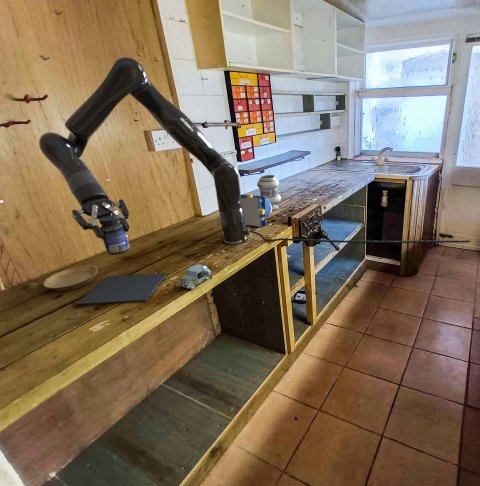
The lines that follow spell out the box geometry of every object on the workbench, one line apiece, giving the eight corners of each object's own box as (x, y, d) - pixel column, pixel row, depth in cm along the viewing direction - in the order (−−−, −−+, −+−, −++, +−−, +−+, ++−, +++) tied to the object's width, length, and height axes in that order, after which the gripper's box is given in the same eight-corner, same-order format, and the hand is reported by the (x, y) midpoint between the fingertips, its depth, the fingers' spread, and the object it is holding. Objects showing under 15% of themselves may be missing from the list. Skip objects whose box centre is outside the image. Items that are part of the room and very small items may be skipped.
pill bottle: (134, 248, 99) (124, 215, 94) (117, 256, 94) (106, 222, 89) (120, 246, 101) (110, 213, 96) (102, 254, 96) (90, 220, 91)
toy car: (179, 289, 100) (175, 275, 98) (202, 274, 108) (199, 262, 106) (194, 293, 97) (190, 279, 95) (216, 278, 106) (214, 265, 104)
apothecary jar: (255, 210, 172) (251, 178, 164) (267, 204, 182) (264, 173, 174) (274, 212, 167) (271, 179, 160) (285, 206, 177) (282, 174, 170)
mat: (166, 274, 109) (166, 273, 108) (145, 301, 94) (145, 299, 94) (108, 278, 108) (107, 276, 107) (77, 305, 93) (76, 303, 93)
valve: (261, 227, 146) (260, 195, 142) (235, 224, 151) (233, 193, 147) (276, 222, 158) (275, 192, 154) (251, 219, 163) (249, 190, 159)
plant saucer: (41, 284, 105) (38, 278, 104) (92, 267, 115) (90, 261, 114) (52, 300, 96) (49, 293, 95) (106, 280, 106) (103, 273, 105)
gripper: (58, 187, 87) (88, 235, 86) (113, 177, 98) (141, 220, 96) (59, 202, 93) (87, 248, 91) (111, 191, 103) (138, 232, 101)
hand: (115, 233), depth 94 cm, fingers closed on pill bottle, 6 cm apart
